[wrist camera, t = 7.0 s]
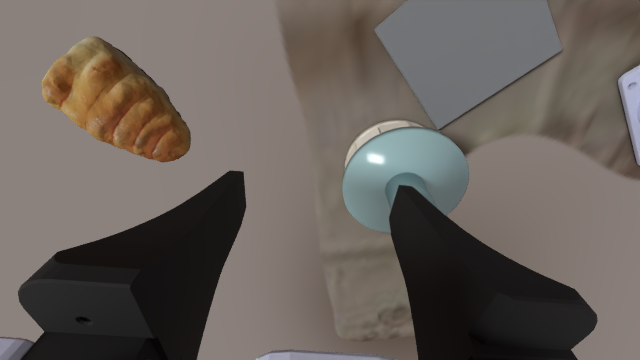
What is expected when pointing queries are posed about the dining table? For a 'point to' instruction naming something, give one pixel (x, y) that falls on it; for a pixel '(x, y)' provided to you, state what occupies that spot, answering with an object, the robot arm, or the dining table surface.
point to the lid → (403, 173)
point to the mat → (466, 49)
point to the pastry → (116, 101)
